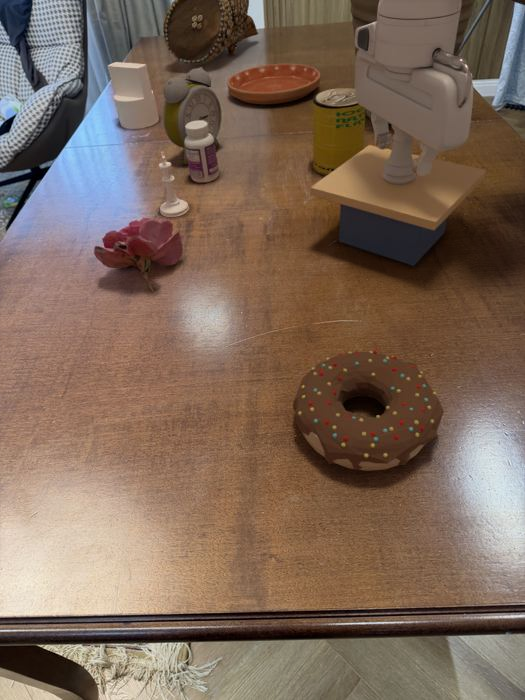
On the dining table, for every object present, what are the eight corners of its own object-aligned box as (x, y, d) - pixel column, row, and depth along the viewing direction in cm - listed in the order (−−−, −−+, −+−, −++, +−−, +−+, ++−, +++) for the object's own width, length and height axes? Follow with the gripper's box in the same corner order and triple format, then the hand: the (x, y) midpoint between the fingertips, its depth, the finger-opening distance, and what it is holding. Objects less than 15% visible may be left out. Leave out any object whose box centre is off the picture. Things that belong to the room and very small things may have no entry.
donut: (362, 509, 44) (366, 479, 41) (269, 414, 52) (266, 382, 49) (468, 427, 50) (479, 393, 46) (368, 352, 58) (372, 319, 54)
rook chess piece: (400, 189, 66) (408, 127, 61) (374, 179, 69) (379, 118, 63) (422, 177, 68) (431, 116, 63) (396, 168, 71) (402, 108, 65)
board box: (472, 229, 75) (486, 169, 68) (424, 284, 66) (435, 221, 60) (365, 200, 84) (369, 144, 77) (310, 245, 75) (310, 187, 69)
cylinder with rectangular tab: (112, 126, 117) (97, 69, 109) (136, 113, 123) (123, 58, 114) (143, 131, 114) (129, 72, 105) (166, 116, 119) (155, 60, 111)
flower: (123, 277, 78) (133, 212, 76) (179, 291, 76) (191, 225, 74) (75, 277, 68) (86, 201, 66) (140, 294, 65) (152, 216, 63)
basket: (178, -6, 162) (136, -5, 134) (236, -50, 153) (204, -59, 125) (216, 68, 172) (184, 83, 144) (273, 31, 163) (251, 39, 135)
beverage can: (370, 160, 94) (375, 91, 86) (348, 180, 89) (351, 109, 81) (328, 152, 98) (329, 85, 90) (304, 170, 93) (303, 102, 85)
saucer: (215, 107, 122) (212, 90, 119) (247, 77, 137) (245, 62, 134) (306, 110, 115) (306, 93, 113) (329, 79, 130) (329, 63, 128)
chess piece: (162, 219, 84) (148, 161, 77) (158, 206, 87) (144, 149, 80) (191, 213, 85) (180, 155, 78) (186, 200, 88) (175, 143, 81)
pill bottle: (214, 168, 97) (206, 116, 90) (223, 179, 93) (215, 125, 86) (187, 174, 96) (177, 122, 89) (195, 186, 92) (185, 132, 85)
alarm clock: (188, 168, 98) (173, 84, 87) (164, 161, 101) (146, 79, 90) (227, 146, 104) (217, 65, 94) (202, 140, 107) (190, 62, 97)
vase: (480, 126, 104) (508, -53, 80) (363, 147, 106) (358, -20, 83) (448, 74, 119) (465, -89, 96) (347, 94, 122) (339, -60, 99)
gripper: (500, 56, 51) (471, 185, 60) (391, 20, 65) (382, 129, 74) (446, 67, 49) (425, 198, 59) (348, 28, 63) (343, 138, 73)
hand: (400, 159), depth 67 cm, fingers open, 8 cm apart
